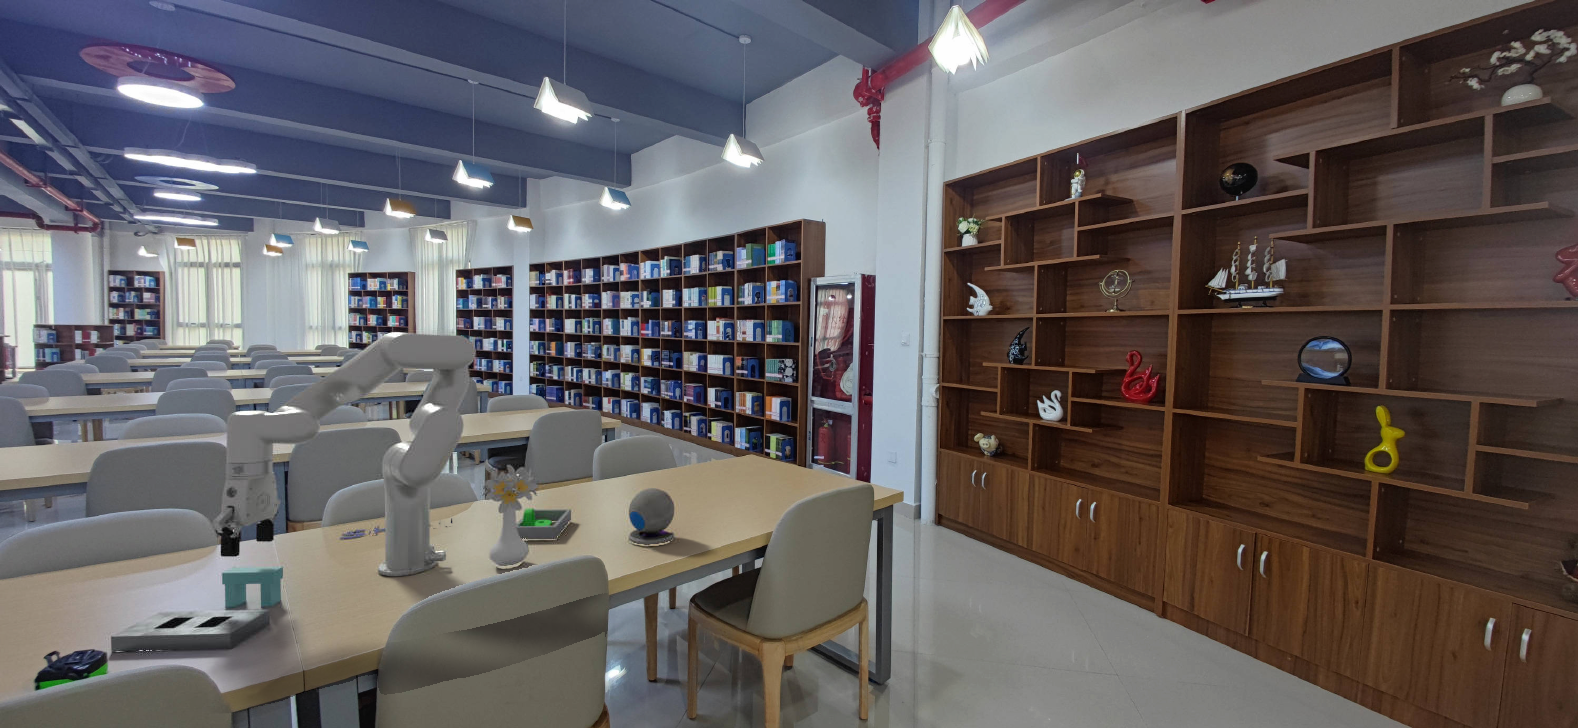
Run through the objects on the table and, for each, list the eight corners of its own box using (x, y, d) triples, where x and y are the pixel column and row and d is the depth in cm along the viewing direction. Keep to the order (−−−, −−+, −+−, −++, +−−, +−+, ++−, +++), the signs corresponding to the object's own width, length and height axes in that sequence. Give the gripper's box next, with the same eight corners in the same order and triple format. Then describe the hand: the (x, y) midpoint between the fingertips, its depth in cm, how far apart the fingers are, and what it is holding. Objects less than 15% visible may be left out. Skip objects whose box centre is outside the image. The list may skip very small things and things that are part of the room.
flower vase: (489, 583, 147) (489, 479, 146) (478, 559, 163) (477, 464, 162) (546, 572, 155) (546, 473, 154) (530, 550, 170) (531, 460, 169)
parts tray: (571, 521, 196) (571, 509, 196) (555, 540, 178) (555, 526, 178) (531, 522, 195) (531, 509, 195) (512, 541, 177) (512, 527, 177)
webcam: (682, 538, 183) (683, 488, 182) (651, 550, 172) (651, 497, 172) (650, 529, 190) (651, 481, 189) (618, 541, 179) (619, 489, 178)
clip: (283, 600, 136) (282, 566, 136) (273, 606, 133) (272, 571, 133) (233, 601, 135) (233, 567, 135) (222, 607, 132) (222, 572, 132)
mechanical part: (544, 538, 181) (544, 511, 180) (523, 538, 180) (523, 511, 180) (553, 525, 193) (553, 500, 192) (533, 526, 192) (533, 500, 191)
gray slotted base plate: (269, 624, 125) (269, 609, 125) (230, 649, 115) (230, 633, 115) (160, 626, 123) (160, 611, 123) (111, 652, 113) (110, 636, 113)
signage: (338, 539, 175) (342, 529, 183) (338, 541, 175) (342, 531, 183) (452, 525, 189) (451, 516, 198) (452, 527, 189) (451, 518, 198)
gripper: (237, 477, 124) (235, 562, 125) (296, 461, 141) (294, 536, 142) (196, 477, 123) (194, 562, 124) (260, 461, 141) (259, 535, 141)
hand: (248, 548), depth 133 cm, fingers open, 9 cm apart
